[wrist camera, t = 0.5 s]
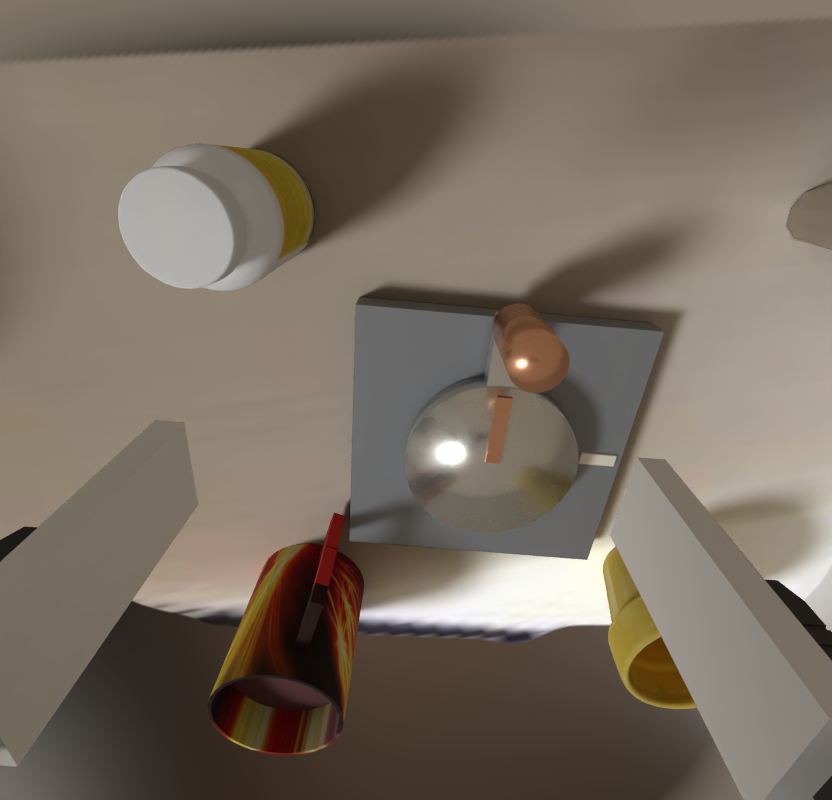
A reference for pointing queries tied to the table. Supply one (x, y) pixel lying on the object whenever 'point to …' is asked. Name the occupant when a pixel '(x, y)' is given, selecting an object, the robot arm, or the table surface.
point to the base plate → (466, 358)
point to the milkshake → (813, 217)
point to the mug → (292, 652)
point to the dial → (497, 434)
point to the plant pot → (640, 643)
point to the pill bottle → (216, 216)
